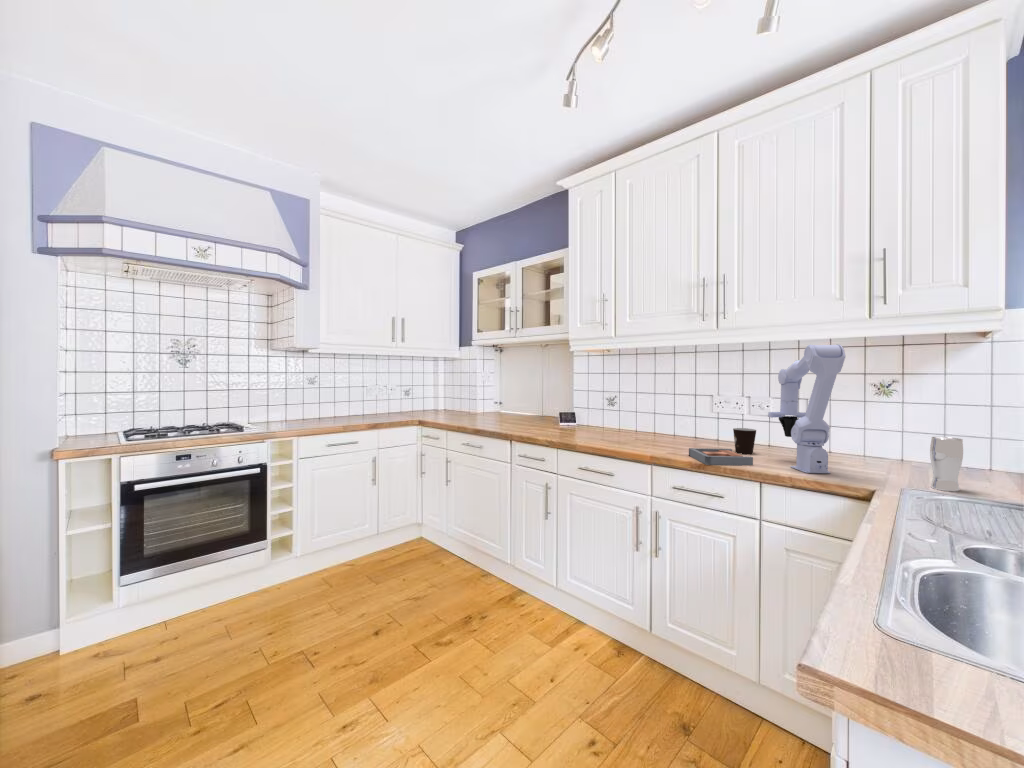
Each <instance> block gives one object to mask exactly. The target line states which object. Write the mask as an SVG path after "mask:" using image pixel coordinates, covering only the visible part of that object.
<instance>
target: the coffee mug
mask: <svg viewBox="0 0 1024 768" xmlns="http://www.w3.org/2000/svg"><path fill="white" fill-rule="evenodd" d="M732 430H733V440H734V450H735V451H734V452H735V453H736V452H737V454H738V453H742V454H741V455H747V454H750V455H753V454H752V453H754V449H755V441H756V435H757V429H756V428H755V429H754V428H747V427H734V428H733V429H732Z"/></svg>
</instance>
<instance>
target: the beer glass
mask: <svg viewBox="0 0 1024 768" xmlns="http://www.w3.org/2000/svg"><path fill="white" fill-rule="evenodd" d="M963 440H964V439H963V438H959V437H958V438H957V437H951V436H950V437H949V436H931V441H930V448H929V457H930V464H931V468H932V469H931V470H932V480H931V483H930V487H931V488H932V489H934V490H938V491H943V492H950V493H952V492H953V493H959V492H960V490H961V489H960V486H959V485H960V484H959V475H960V471H961V467H962V464H963V460H964V443H963V442H964V441H963Z"/></svg>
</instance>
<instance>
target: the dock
mask: <svg viewBox="0 0 1024 768" xmlns="http://www.w3.org/2000/svg"><path fill="white" fill-rule="evenodd" d="M718 450H729V451H732V452H733V449H731V448H708V447H707V448H704V447H703V448H701V447H699V448H698V447H697V448H696V447H689V448H688V456H689V455H690V456H689V457H691V458H692V459H694V458H695V460H696V459H697V461H698V462H700V463H702V464H704V465H706V466H742V465H753V466H754V457H753V456H743V455H742V456H743V457H742V456H708V455H706V454H704V453H702V452H718Z"/></svg>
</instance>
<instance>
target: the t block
mask: <svg viewBox="0 0 1024 768" xmlns="http://www.w3.org/2000/svg"><path fill="white" fill-rule="evenodd" d="M702 453H704V454H706V455H708V456H742V457H744V455H743V454H738V453H736V452H735V451H733V450H732V451H729V450H718V452H702Z"/></svg>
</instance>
